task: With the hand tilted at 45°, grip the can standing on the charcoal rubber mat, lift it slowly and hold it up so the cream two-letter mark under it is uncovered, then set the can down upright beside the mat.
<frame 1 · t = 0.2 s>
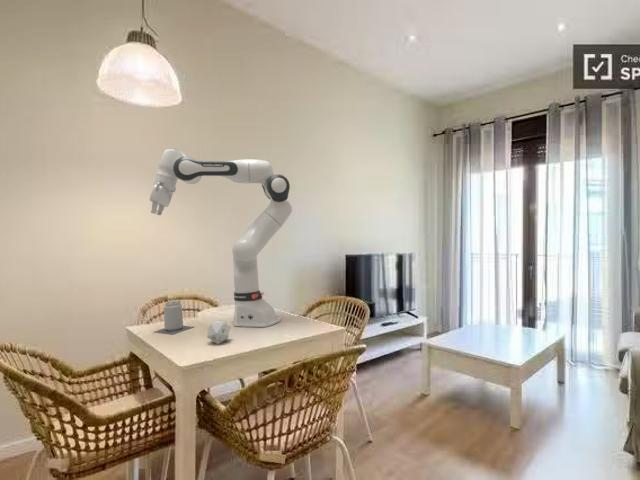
hand: (156, 214, 158), 51 cm above the table, tool tilted 20°, fingers open, 8 cm apart
can: (174, 329, 159), resting on code mat
die: (219, 342, 138), on the table
code mat: (174, 329, 159), on the table
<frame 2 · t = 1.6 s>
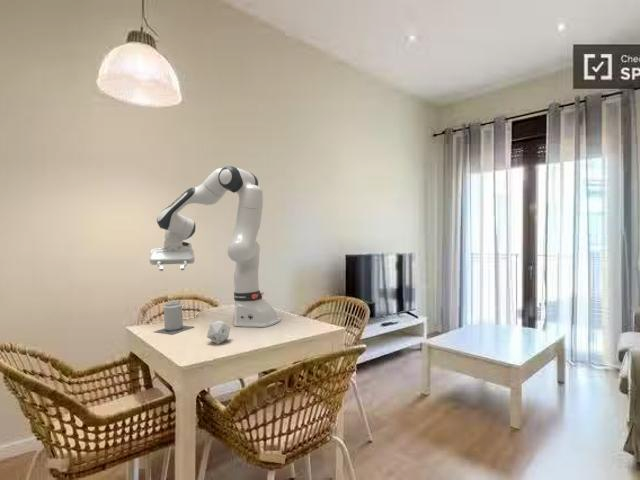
hand: (171, 269, 171), 26 cm above the table, tool tilted 45°, fingers open, 8 cm apart
nothing on the table moved.
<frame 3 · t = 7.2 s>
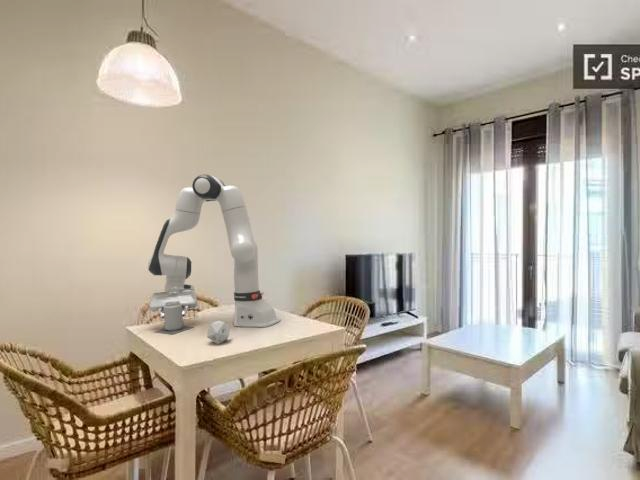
hand: (173, 316, 159), 6 cm above the table, tool tilted 45°, fingers closed on can, 7 cm apart
can: (174, 329, 159), resting on code mat, touching gripper
everything else where it was.
when the fingers open (14 cm above the table, at t = 17.0 s): can drops 3 cm, on the table.
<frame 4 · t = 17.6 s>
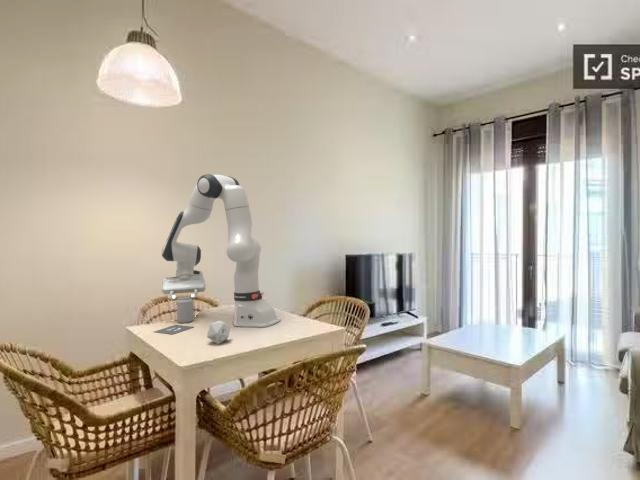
hand: (183, 299, 174), 11 cm above the table, tool tilted 45°, fingers open, 8 cm apart
can: (185, 322, 173), on the table, touching gripper
everything else where it was.
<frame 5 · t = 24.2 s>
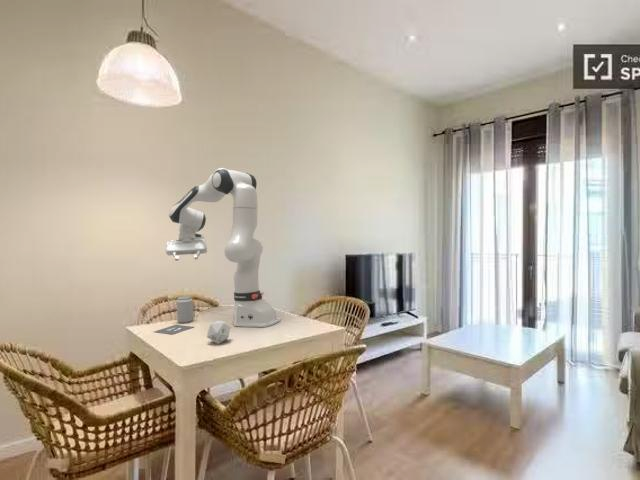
hand: (186, 259, 184), 29 cm above the table, tool tilted 45°, fingers open, 8 cm apart
can: (185, 322, 173), on the table
everything else where it was.
at the end: can inside the target area (1.5 cm from its centre), on the table; can tilted 0°; can touching table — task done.
